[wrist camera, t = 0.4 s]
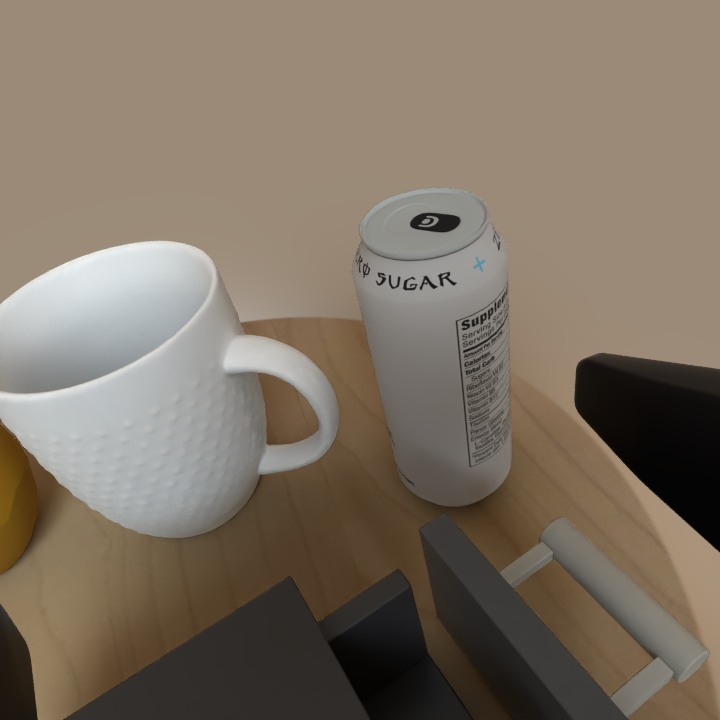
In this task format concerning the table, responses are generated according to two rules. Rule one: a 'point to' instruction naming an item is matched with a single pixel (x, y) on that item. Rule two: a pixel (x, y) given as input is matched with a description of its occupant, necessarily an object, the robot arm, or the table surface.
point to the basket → (501, 634)
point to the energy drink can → (439, 340)
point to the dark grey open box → (241, 671)
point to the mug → (149, 388)
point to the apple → (15, 501)
